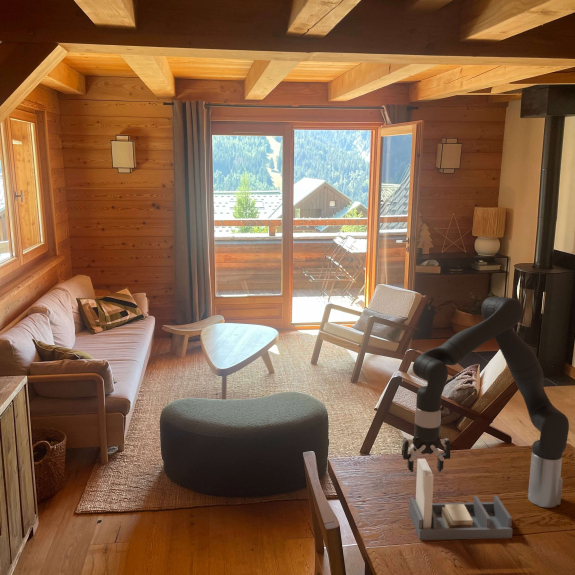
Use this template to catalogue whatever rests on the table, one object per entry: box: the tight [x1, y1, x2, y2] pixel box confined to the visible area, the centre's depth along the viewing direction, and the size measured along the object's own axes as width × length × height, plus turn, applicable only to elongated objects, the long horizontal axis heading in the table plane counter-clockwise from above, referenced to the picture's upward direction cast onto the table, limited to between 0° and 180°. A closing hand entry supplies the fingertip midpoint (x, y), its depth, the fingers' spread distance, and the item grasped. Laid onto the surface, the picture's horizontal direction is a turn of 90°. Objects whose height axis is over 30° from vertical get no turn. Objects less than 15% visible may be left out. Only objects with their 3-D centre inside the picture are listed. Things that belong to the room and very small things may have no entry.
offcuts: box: [441, 504, 473, 528], centre depth 179 cm, size 7×10×4 cm
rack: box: [408, 494, 513, 541], centre depth 179 cm, size 28×14×7 cm, turn 91°
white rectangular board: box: [415, 458, 434, 529], centre depth 177 cm, size 2×10×20 cm, turn 1°
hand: (425, 470), depth 176 cm, fingers open, 8 cm apart
